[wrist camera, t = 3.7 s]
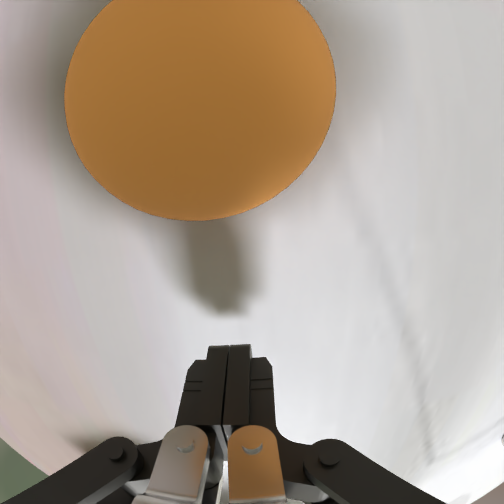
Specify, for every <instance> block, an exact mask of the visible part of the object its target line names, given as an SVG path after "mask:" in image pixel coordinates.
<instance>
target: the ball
mask: <svg viewBox="0 0 504 504" xmlns="http://www.w3.org/2000/svg"><path fill="white" fill-rule="evenodd" d="M335 98H336V76H335V70H334V64H333V59H332V56H331V53H330V50H329V47H328V44H327V42H326V40H325V38H324V36H323V34H322V32H321V30H320V28H319V26H318V25H317V23H316V22H315V20H314V19H313V18H312V16H311V15H310V14H309V12H308V11H307V10H306V9H305V8H304V7H303V6H302V5H301V4H300V3H299V2H298V1H297V0H112V1H111V2H110V3H109V4H108V5H107V6H105V7H104V8H103V9H102V10H101V12H100V13H99V14H98V15H97V16H96V17H95V18H94V19H93V21H92V22H91V23H90V25H89V26H88V28H87V29H86V30H85V32H84V33H83V35H82V37H81V39H80V41H79V43H78V44H77V46H76V48H75V51H74V53H73V56H72V59H71V61H70V64H69V68H68V72H67V77H66V83H65V92H64V102H65V114H66V121H67V127H68V130H69V134H70V137H71V141H72V143H73V145H74V148H75V150H76V152H77V154H78V156H79V158H80V159H81V161H82V163H83V164H84V166H85V167H86V169H87V170H88V171H89V172H90V174H91V175H92V176H93V177H94V179H95V180H96V181H97V182H99V183H100V184H101V185H102V186H103V187H104V188H105V189H106V190H107V191H108V192H109V193H111V194H112V195H114V196H115V197H116V198H118V199H119V200H121V201H122V202H124V203H126V204H128V205H130V206H131V207H133V208H135V209H137V210H140V211H143V212H145V213H148V214H151V215H154V216H159V217H163V218H167V219H175V220H185V221H207V220H213V219H220V218H225V217H229V216H233V215H236V214H240V213H243V212H245V211H248V210H250V209H252V208H255V207H257V206H259V205H261V204H263V203H264V202H266V201H268V200H270V199H272V198H273V197H275V196H276V195H277V194H279V193H280V192H281V191H283V190H284V189H286V188H287V187H288V186H289V185H290V184H291V183H292V182H293V181H294V180H296V179H297V178H298V177H299V176H300V175H301V174H302V172H303V171H304V170H305V169H306V167H307V166H308V165H309V164H310V163H311V161H312V160H313V158H314V157H315V155H316V154H317V152H318V150H319V149H320V147H321V145H322V143H323V141H324V139H325V136H326V134H327V132H328V130H329V127H330V123H331V119H332V116H333V112H334V106H335Z"/></svg>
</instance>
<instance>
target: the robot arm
mask: <svg viewBox="0 0 504 504" xmlns="http://www.w3.org/2000/svg"><path fill="white" fill-rule="evenodd" d="M502 444H503V446H504V437H503V439H502ZM223 461H228V479H229V504H288V503H287V500H286V498H290V499H295V500H300V501H303V502H304V503H305V504H446V503H444V502H443V501H441V500H439V499H437V498H435V497H433V496H431V495H429V494H428V493H426V492H424V491H422V490H420V489H419V488H417V487H415V486H413V485H412V484H410V483H408V482H406V481H405V480H403V479H401V478H400V477H398V476H396V475H395V474H393V473H391V472H390V471H388V470H386V469H385V468H383V467H382V466H380V465H378V464H377V463H375V462H374V461H372V460H371V459H369V458H367V457H366V456H364V455H363V454H361V453H360V452H358V451H357V450H355V449H354V448H352V447H351V446H349V445H348V444H347V443H345V442H343V441H340V440H337V439H324V440H320V441H318V442H316V443H314V444H313V445H306V444H301V443H296V442H292V441H290V440H288V439H286V438H284V437H283V436H282V435H281V434H280V433H279V431H278V430H277V427H276V420H275V404H274V388H273V373H272V366H271V364H270V363H269V361H268V360H267V358H266V357H260V358H252V351H251V344H242V345H230V346H229V345H222V346H209V348H208V353H207V358H206V360H195V361H194V363H193V364H192V365H191V366H190V368H189V369H188V371H187V376H186V380H185V384H184V389H183V393H182V397H181V402H180V406H179V411H178V415H177V420H176V424H175V427H174V428H173V429H171V430H170V431H169V432H168V433H167V434H166V435H165V436H164V438H163V439H162V440H160V441H157V442H153V443H147V444H141V445H135V444H134V443H133V442H132V441H131V440H129V439H127V438H124V437H113V438H110V439H107V440H106V441H104V442H103V443H101V444H100V445H98V446H97V447H95V448H93V449H92V450H90V451H89V452H87V453H86V454H84V455H83V456H81V457H80V458H78V459H76V460H75V461H73V462H72V463H70V464H69V465H67V466H65V467H64V468H62V469H61V470H59V471H57V472H56V473H54V474H52V475H51V476H49V477H47V478H46V479H44V480H42V481H41V482H39V483H37V484H35V485H34V486H32V487H30V488H28V489H27V490H25V491H23V492H22V493H20V494H18V495H16V496H14V497H12V498H10V499H9V500H7V501H5V502H3V503H1V504H219V502H220V496H221V490H222V484H223V475H222V473H223Z"/></svg>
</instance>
